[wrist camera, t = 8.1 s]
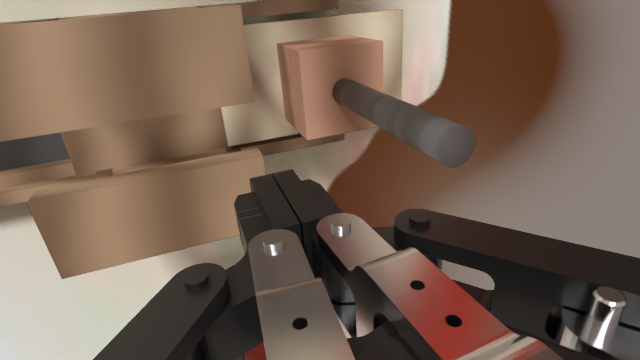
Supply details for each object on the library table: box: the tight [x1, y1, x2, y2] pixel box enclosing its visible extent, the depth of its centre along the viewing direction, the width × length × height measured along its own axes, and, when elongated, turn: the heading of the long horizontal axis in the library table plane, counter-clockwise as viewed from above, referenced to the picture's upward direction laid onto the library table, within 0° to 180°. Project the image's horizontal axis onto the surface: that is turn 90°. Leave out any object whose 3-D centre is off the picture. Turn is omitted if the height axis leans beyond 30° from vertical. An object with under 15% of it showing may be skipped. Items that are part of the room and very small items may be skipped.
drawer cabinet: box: [0, 0, 345, 279], centre depth 25 cm, size 30×12×14 cm, turn 95°
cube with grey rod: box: [220, 9, 476, 168], centre depth 24 cm, size 16×9×19 cm, turn 95°
